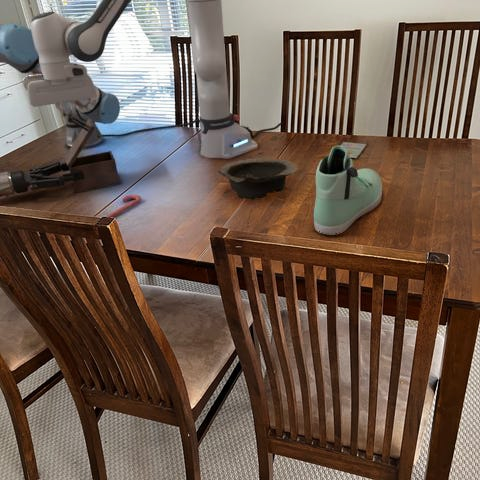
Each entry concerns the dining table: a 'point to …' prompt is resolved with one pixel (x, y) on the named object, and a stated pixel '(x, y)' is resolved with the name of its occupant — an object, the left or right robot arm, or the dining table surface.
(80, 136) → the lid
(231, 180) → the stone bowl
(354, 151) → the baking ingredient package
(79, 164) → the chest
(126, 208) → the candy cane
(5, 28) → the left robot arm
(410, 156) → the dining table surface
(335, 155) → the sneaker
